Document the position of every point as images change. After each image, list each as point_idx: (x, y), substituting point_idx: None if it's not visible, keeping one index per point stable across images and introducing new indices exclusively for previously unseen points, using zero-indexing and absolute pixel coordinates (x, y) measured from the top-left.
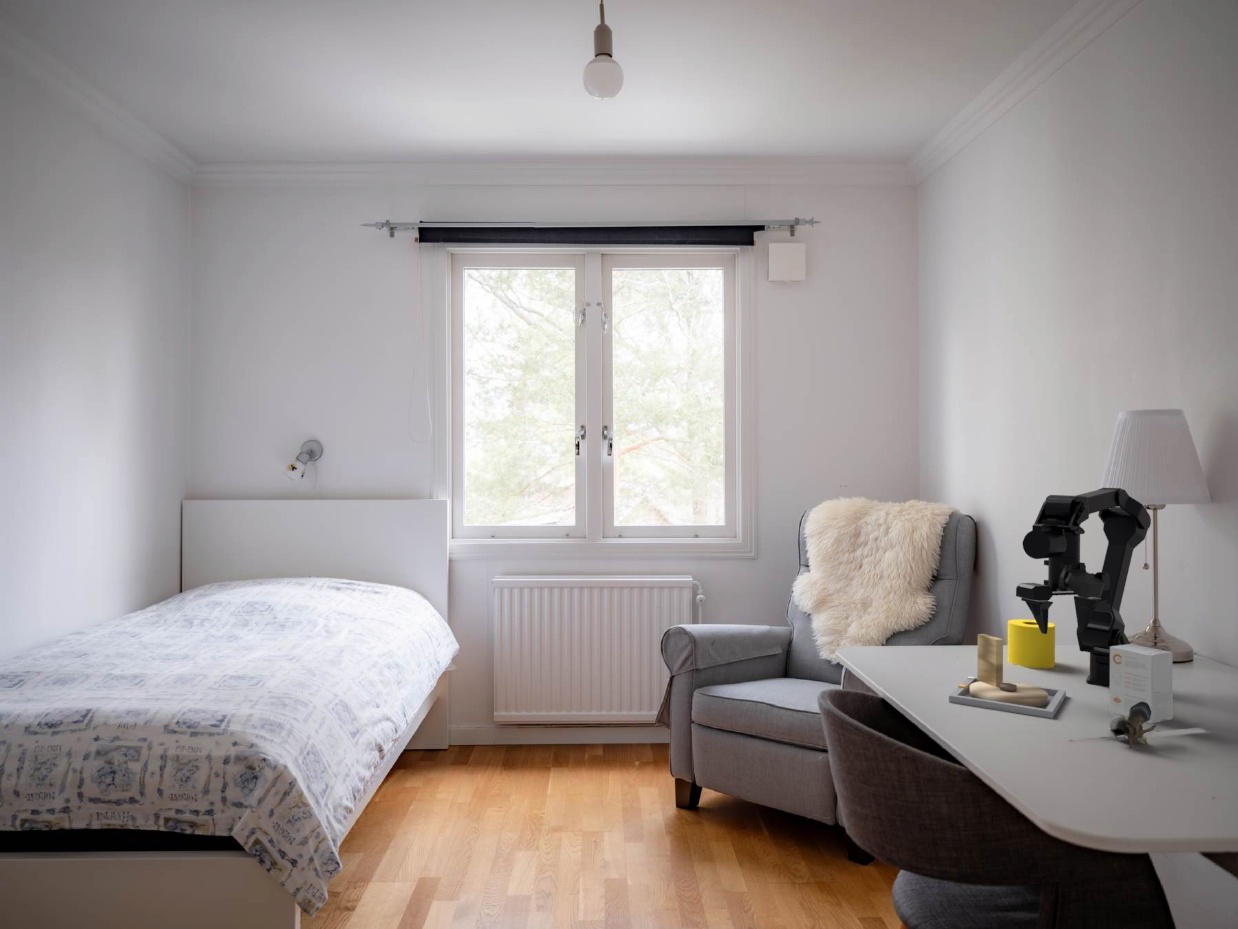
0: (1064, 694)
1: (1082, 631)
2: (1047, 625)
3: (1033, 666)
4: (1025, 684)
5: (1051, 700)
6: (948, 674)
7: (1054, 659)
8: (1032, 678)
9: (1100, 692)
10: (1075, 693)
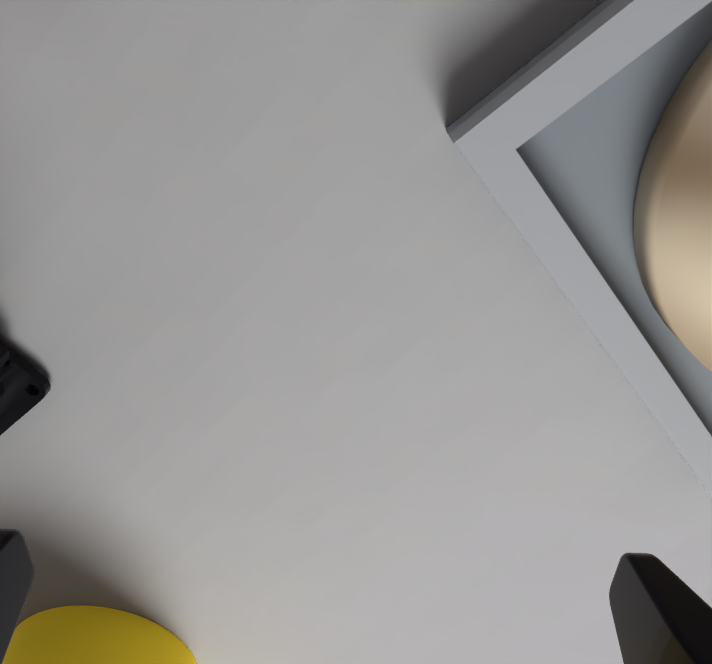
0: (516, 88)
1: (19, 543)
2: (706, 655)
3: (143, 625)
4: (662, 282)
5: (647, 62)
6: (605, 626)
7: (11, 649)
8: (276, 509)
9: (88, 221)
10: (260, 242)
